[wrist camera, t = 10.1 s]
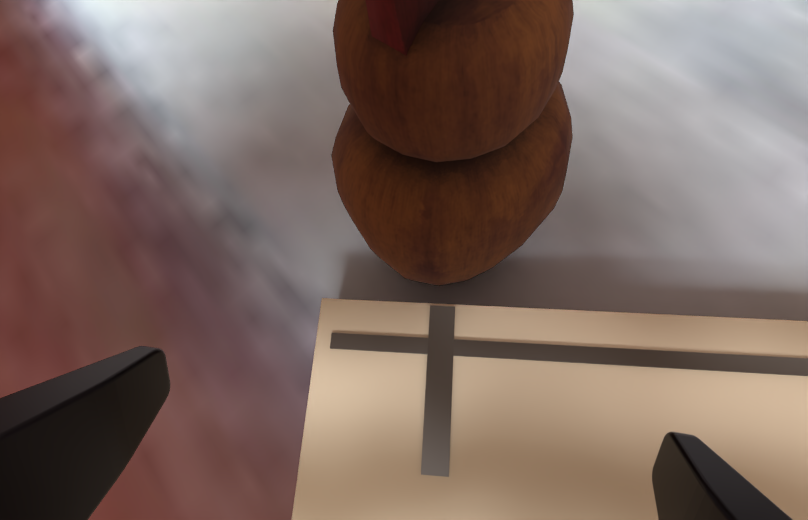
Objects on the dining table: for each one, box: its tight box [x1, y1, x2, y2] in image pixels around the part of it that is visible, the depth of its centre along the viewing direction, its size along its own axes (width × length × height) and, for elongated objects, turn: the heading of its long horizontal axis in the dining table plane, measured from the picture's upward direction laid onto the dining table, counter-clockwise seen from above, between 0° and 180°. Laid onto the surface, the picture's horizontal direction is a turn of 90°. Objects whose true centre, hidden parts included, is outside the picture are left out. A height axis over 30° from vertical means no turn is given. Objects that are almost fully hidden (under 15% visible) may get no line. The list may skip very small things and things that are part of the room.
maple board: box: [292, 298, 808, 520], centre depth 14 cm, size 11×20×2 cm, turn 86°
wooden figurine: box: [331, 0, 574, 286], centre depth 12 cm, size 7×6×15 cm
